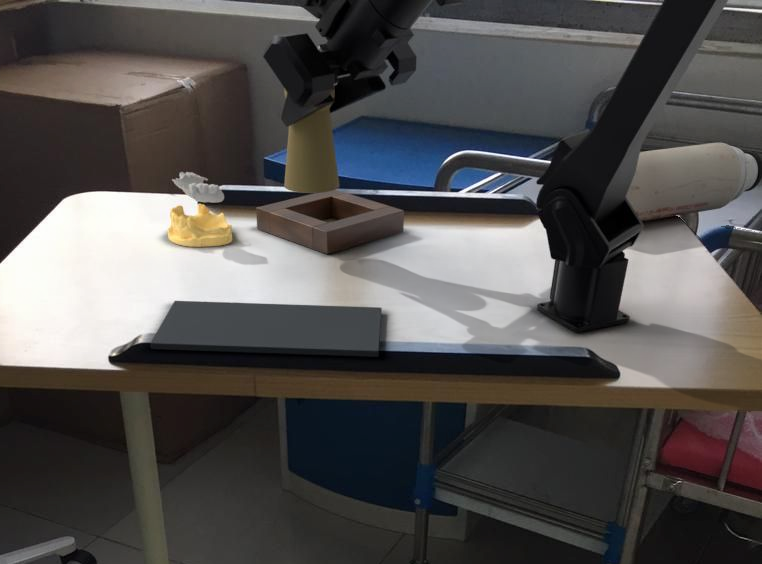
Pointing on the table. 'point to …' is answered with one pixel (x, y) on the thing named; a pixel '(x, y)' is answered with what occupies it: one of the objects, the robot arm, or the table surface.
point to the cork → (311, 154)
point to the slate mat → (270, 328)
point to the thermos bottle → (691, 179)
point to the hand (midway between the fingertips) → (300, 118)
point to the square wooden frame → (353, 228)
